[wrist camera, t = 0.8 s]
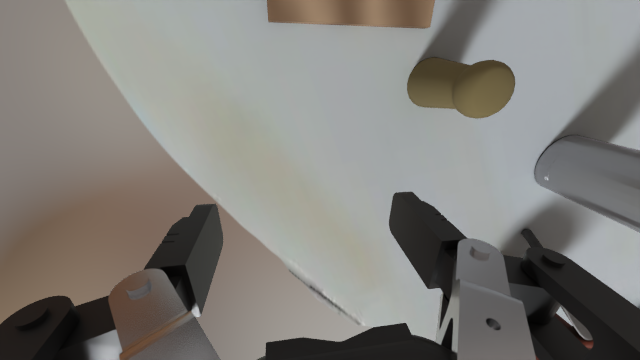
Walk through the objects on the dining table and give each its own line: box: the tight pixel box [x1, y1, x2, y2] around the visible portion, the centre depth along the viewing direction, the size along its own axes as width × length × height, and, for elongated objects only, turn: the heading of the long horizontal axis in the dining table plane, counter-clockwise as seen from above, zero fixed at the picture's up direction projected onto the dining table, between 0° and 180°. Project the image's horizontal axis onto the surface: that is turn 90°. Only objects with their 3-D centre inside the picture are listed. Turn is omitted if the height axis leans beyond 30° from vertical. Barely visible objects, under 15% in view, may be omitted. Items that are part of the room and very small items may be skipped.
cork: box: [407, 57, 515, 118], centre depth 27 cm, size 6×6×11 cm
